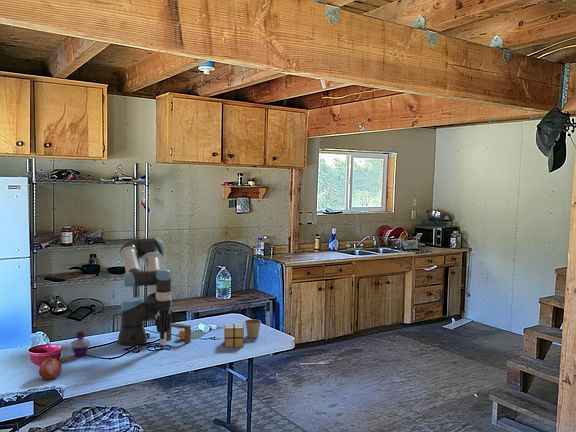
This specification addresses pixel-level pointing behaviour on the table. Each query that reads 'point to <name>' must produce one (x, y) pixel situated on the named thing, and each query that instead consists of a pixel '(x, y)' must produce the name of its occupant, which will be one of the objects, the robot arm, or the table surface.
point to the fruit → (50, 368)
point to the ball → (182, 334)
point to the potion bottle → (80, 344)
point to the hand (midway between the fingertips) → (163, 344)
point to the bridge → (187, 332)
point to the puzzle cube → (234, 335)
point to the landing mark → (196, 334)
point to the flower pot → (252, 327)
